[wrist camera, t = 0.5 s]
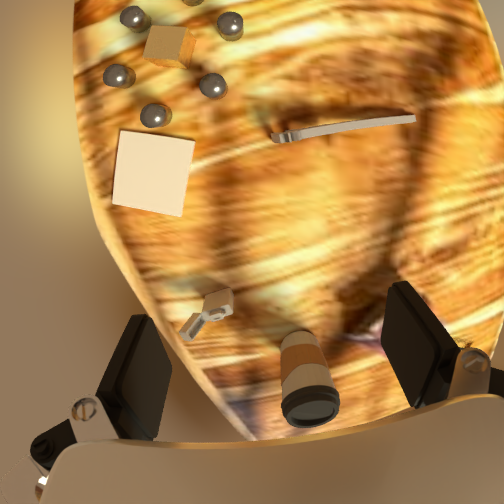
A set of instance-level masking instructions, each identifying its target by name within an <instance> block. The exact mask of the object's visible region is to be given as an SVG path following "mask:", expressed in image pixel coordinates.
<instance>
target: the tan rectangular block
mask: <svg viewBox="0 0 504 504" xmlns="http://www.w3.org/2000/svg"><path fill="white" fill-rule="evenodd" d="M195 43H196V40H195V38H194V37H193V36H192V34H191V33H190V31H189V30H188V28H187V27H176V26H157V25H152V26H151V29H150V32H149V35H148V39H147V42H146V46H145V49H144V53H143V56H142V58H144V59H146V60H148V61H150V62H151V63H153V64H155V65H157V66H163V67H173V68H182V69H188V68H189V65H190V61H191V57H192V54H193V50H194V47H195Z"/></svg>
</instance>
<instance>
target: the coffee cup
mask: <svg viewBox="0 0 504 504" xmlns="http://www.w3.org/2000/svg"><path fill="white" fill-rule="evenodd" d="M281 386H282V403H281V408H282V413H283V416H284V417H285V418H286V420H287V422H288V423H289V424H290V425H292V426H294V427H298V428H312V427H317V426H320V425H323V424H325V423H327V422H329V421H331V420H332V419H333V418H335V417H336V415H337V414H338V411H339V406H340V399H339V393H338V391H337V390H336V388H335V386H334V383H333V380H332V377H331V374H330V370H329V368H328V365H327V363H326V360H325V357H324V355H323V352H322V350H321V348H320V346H319V343H318V341H317V339H316V337H315V336H314V335H312V334H311V333H309V332H307V331H296V332H293V333H290V334H289V335H287V336H286V337H285V338H284V340H283V341H282V344H281Z"/></svg>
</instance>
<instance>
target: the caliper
mask: <svg viewBox="0 0 504 504" xmlns="http://www.w3.org/2000/svg"><path fill="white" fill-rule="evenodd" d="M411 122H416V119H415V115H402V116H390V117H380V118H371V119H362V120H355V121H347V122H340V123H334V124H325V125H319V126H313V127H308V128H303V129H293V130H286V131H285V132H283V133H271V138H272V142H274V143H284V142H292V141H297V140H301V139H304V138H309V137H315V136H320V135H325V134H331V133H337V132H341V131H347V130H354V129H361V128H368V127H375V126H383V125H392V124H401V123H411Z"/></svg>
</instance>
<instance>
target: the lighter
mask: <svg viewBox="0 0 504 504" xmlns="http://www.w3.org/2000/svg"><path fill="white" fill-rule="evenodd" d="M233 307H234V294H233V292H232V290H231V288H226V289H223V290H220V291H216V292H213V293H210V294H207V295H205V300H204V304H203V309H202V313H193V314H192V316H191V317H190V318H189V319H188V321H187V322H186V323H185V324H184V326H183V327H182V328H181V330H180V331H179V334H180V335H181V337H182V338H183V340H186V341H193V339H194V338H195V337H196V335H197V334H198V333H199V331H200V330H201V328H202V327H203V326H204V324H205V323H206V321H210V320H211V321H212V322H214V321H218V320H221V319H224V316H228V315H231V314H233Z"/></svg>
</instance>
